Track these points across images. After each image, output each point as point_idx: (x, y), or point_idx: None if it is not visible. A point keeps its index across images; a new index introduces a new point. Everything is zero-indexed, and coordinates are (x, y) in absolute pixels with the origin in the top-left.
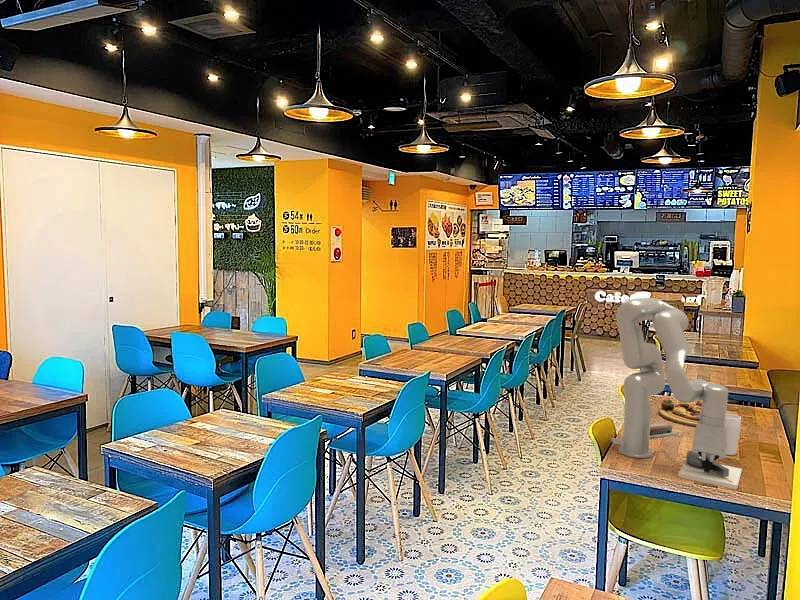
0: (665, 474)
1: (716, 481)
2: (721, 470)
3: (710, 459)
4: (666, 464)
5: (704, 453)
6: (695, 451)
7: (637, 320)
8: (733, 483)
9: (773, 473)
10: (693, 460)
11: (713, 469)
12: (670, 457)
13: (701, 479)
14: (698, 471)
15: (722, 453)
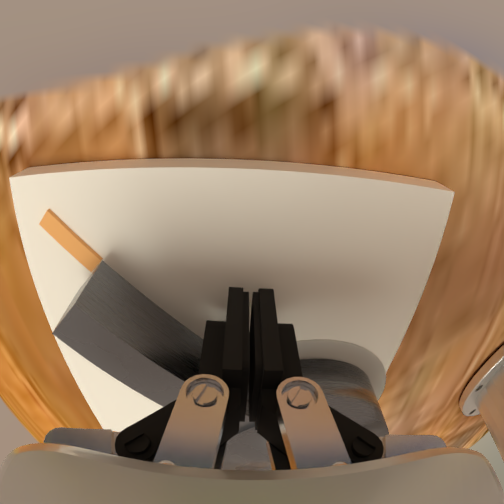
0: (491, 189)
1: (146, 166)
2: (109, 310)
3: (217, 404)
4: (447, 343)
5: (310, 461)
6: (408, 447)
7: None
8: (33, 200)
9: (44, 427)
10: (353, 396)
11: (197, 348)
12: (402, 414)
13: (280, 167)
14: (309, 308)
15: (9, 473)
